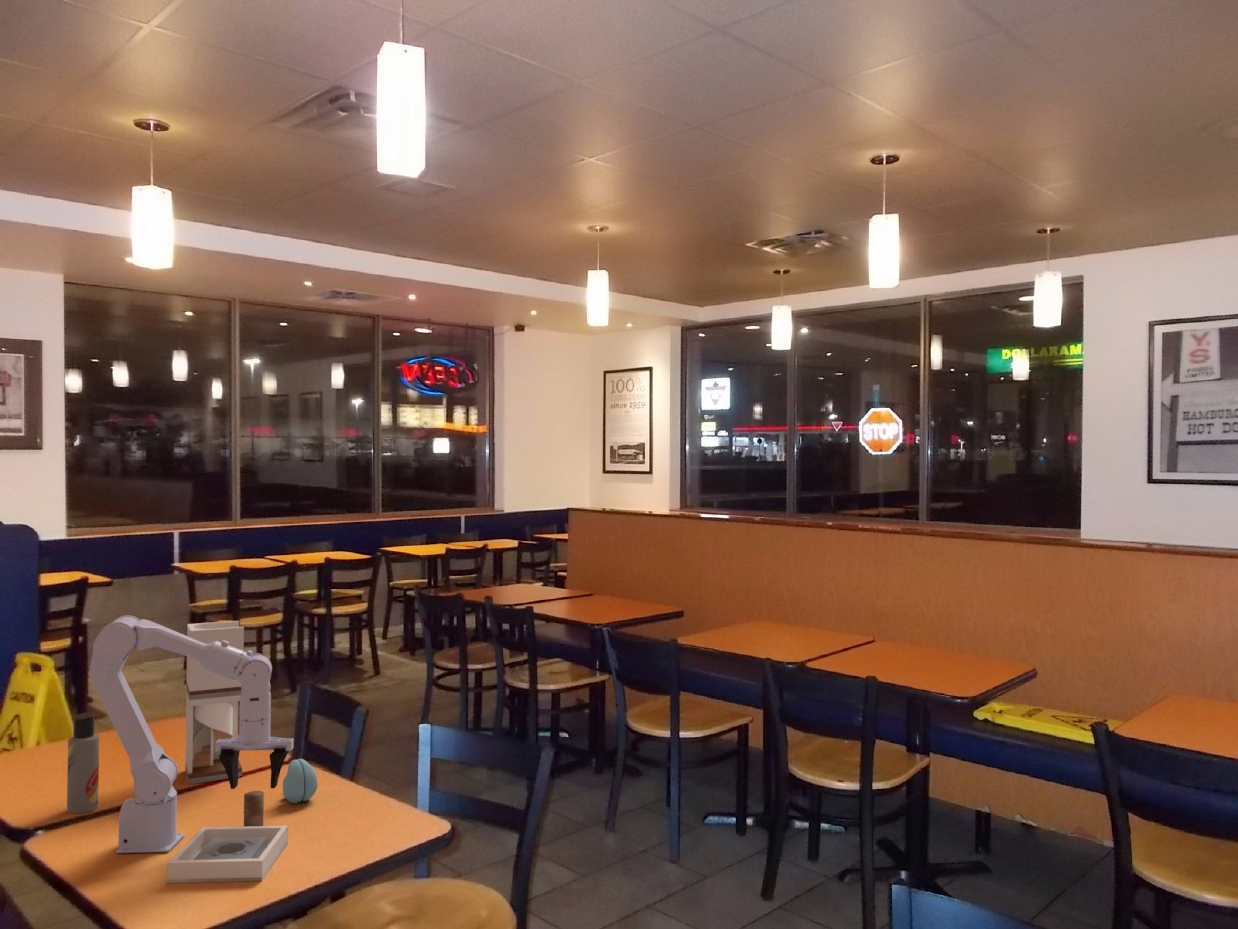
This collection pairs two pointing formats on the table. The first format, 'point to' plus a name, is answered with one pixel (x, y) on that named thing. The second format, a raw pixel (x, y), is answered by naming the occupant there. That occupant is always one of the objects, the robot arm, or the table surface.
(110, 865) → the table surface
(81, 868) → the table surface
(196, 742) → the tall white shelf
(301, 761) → the toy flower bud
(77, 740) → the lotion bottle
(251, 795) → the peg
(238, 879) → the box
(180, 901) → the table surface
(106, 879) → the table surface
